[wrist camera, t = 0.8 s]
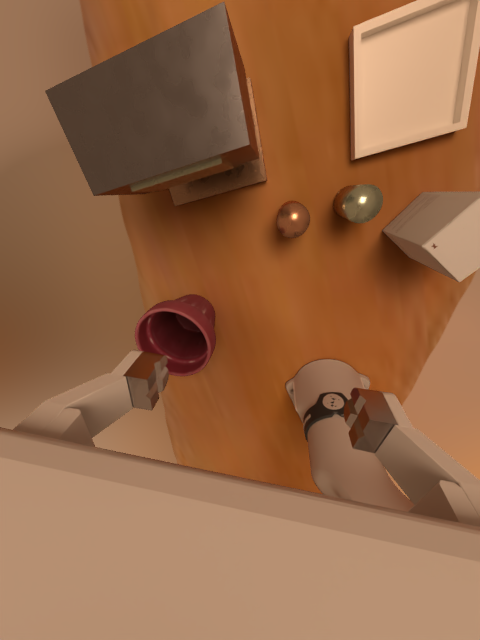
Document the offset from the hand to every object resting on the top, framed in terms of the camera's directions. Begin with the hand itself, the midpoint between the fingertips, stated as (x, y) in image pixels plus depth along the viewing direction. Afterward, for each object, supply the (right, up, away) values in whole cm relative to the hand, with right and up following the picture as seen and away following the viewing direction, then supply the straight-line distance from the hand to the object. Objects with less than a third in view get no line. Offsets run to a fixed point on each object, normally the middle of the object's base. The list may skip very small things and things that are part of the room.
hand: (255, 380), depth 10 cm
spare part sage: (+17, +22, +27) cm, 38 cm away
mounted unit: (-5, +29, +26) cm, 40 cm away
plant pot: (-11, +4, +41) cm, 43 cm away
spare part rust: (+8, +20, +29) cm, 36 cm away
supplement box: (+28, +18, +27) cm, 43 cm away
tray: (+20, +33, +20) cm, 43 cm away
